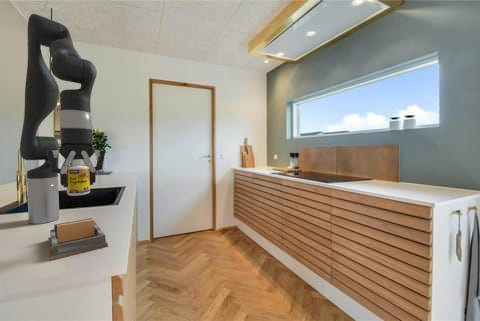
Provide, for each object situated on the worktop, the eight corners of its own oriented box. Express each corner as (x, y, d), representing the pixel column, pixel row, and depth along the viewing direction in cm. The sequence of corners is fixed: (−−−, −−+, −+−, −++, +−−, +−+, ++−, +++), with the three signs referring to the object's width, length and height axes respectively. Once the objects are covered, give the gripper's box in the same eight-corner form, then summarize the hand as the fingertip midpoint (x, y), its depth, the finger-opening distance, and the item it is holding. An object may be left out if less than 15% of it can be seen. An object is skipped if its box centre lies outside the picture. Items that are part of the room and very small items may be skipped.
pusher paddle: (57, 241, 67) (57, 225, 67) (94, 234, 73) (93, 219, 73) (57, 242, 67) (57, 226, 66) (94, 235, 73) (94, 219, 72)
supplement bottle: (66, 196, 63) (65, 159, 62) (67, 193, 67) (66, 159, 67) (90, 194, 66) (89, 159, 65) (90, 191, 70) (89, 158, 70)
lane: (48, 240, 71) (47, 225, 71) (96, 230, 80) (96, 217, 80) (50, 260, 59) (50, 242, 58) (107, 246, 67) (107, 230, 67)
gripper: (102, 130, 73) (103, 182, 74) (43, 127, 64) (45, 187, 64) (107, 128, 68) (109, 184, 68) (44, 124, 58) (46, 190, 59)
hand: (78, 185), depth 66 cm, fingers closed on supplement bottle, 5 cm apart
